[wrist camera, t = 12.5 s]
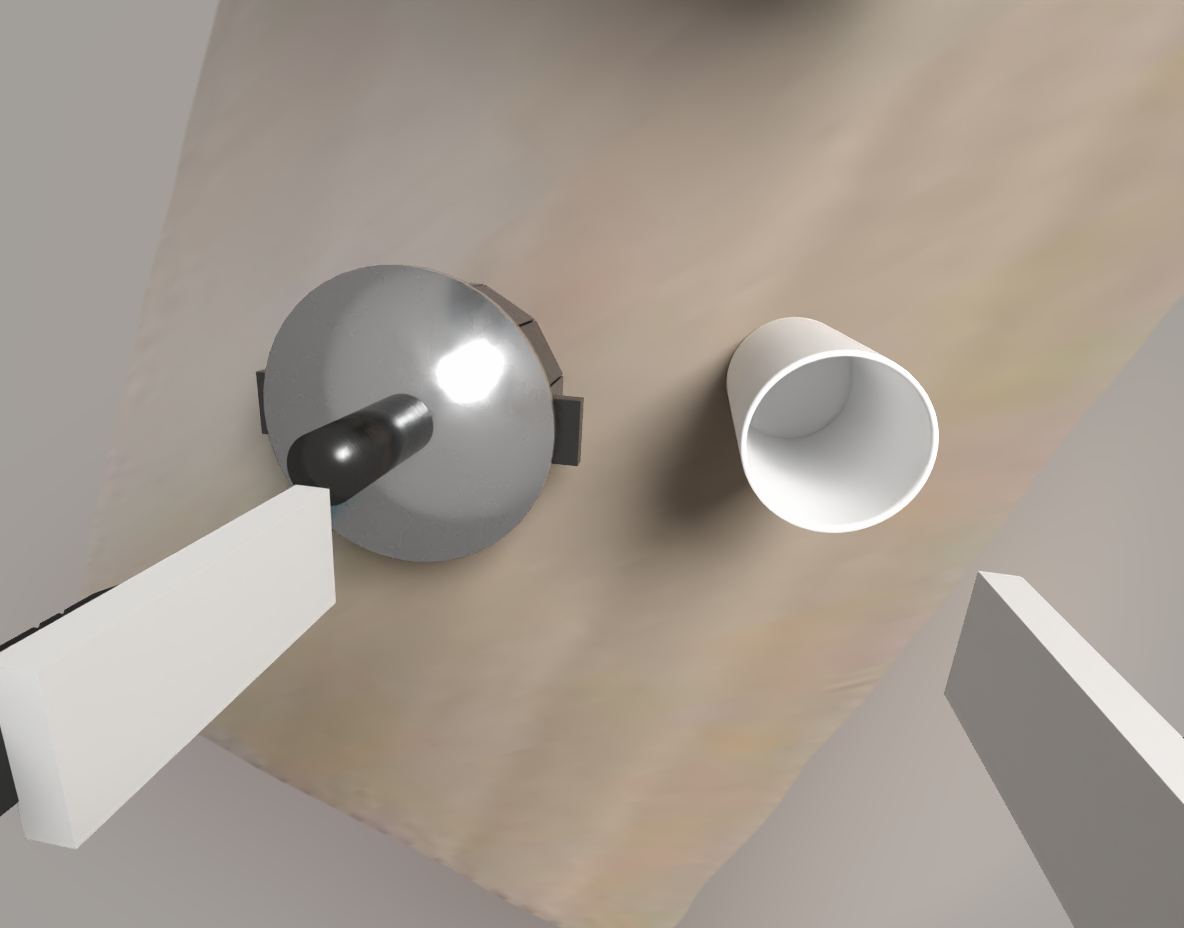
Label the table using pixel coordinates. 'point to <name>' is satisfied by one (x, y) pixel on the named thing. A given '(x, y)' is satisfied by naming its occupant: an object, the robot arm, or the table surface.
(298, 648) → the table surface
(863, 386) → the cup
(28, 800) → the robot arm
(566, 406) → the pot
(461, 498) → the lid
